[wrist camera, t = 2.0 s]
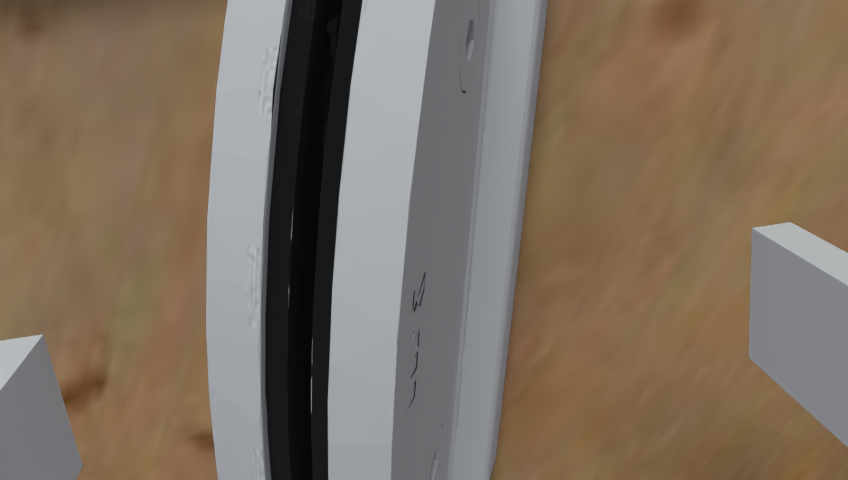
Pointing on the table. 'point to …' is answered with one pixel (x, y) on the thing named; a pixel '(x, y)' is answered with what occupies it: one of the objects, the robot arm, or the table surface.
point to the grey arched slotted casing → (366, 234)
